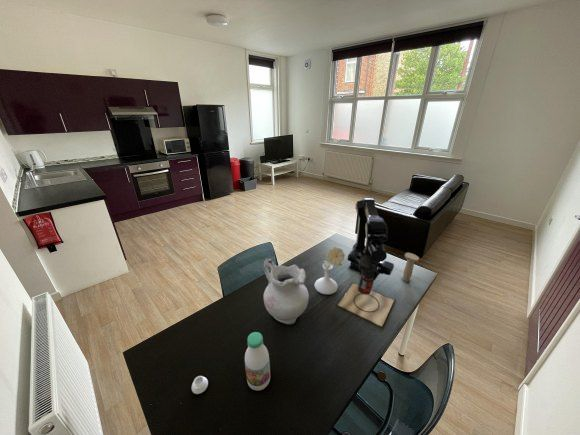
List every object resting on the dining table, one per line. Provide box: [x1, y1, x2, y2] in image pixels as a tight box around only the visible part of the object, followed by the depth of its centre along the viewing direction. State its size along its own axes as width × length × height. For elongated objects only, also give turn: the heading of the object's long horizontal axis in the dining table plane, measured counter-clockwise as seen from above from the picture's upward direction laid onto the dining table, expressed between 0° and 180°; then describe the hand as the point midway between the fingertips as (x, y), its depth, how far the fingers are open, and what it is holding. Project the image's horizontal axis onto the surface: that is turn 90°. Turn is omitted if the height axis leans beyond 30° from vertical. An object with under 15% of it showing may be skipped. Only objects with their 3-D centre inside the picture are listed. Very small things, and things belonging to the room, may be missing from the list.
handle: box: [402, 252, 420, 283], centre depth 121 cm, size 5×6×15 cm
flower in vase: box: [314, 246, 345, 295], centre depth 113 cm, size 13×11×25 cm
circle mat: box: [337, 282, 395, 328], centre depth 110 cm, size 20×18×1 cm
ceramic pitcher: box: [263, 257, 310, 325], centre depth 101 cm, size 22×20×25 cm
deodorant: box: [357, 266, 378, 295], centre depth 108 cm, size 6×6×15 cm
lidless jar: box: [191, 375, 209, 395], centre depth 77 cm, size 5×3×5 cm
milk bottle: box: [244, 331, 271, 391], centre depth 76 cm, size 8×8×20 cm
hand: (367, 277), depth 107 cm, fingers closed on deodorant, 6 cm apart
